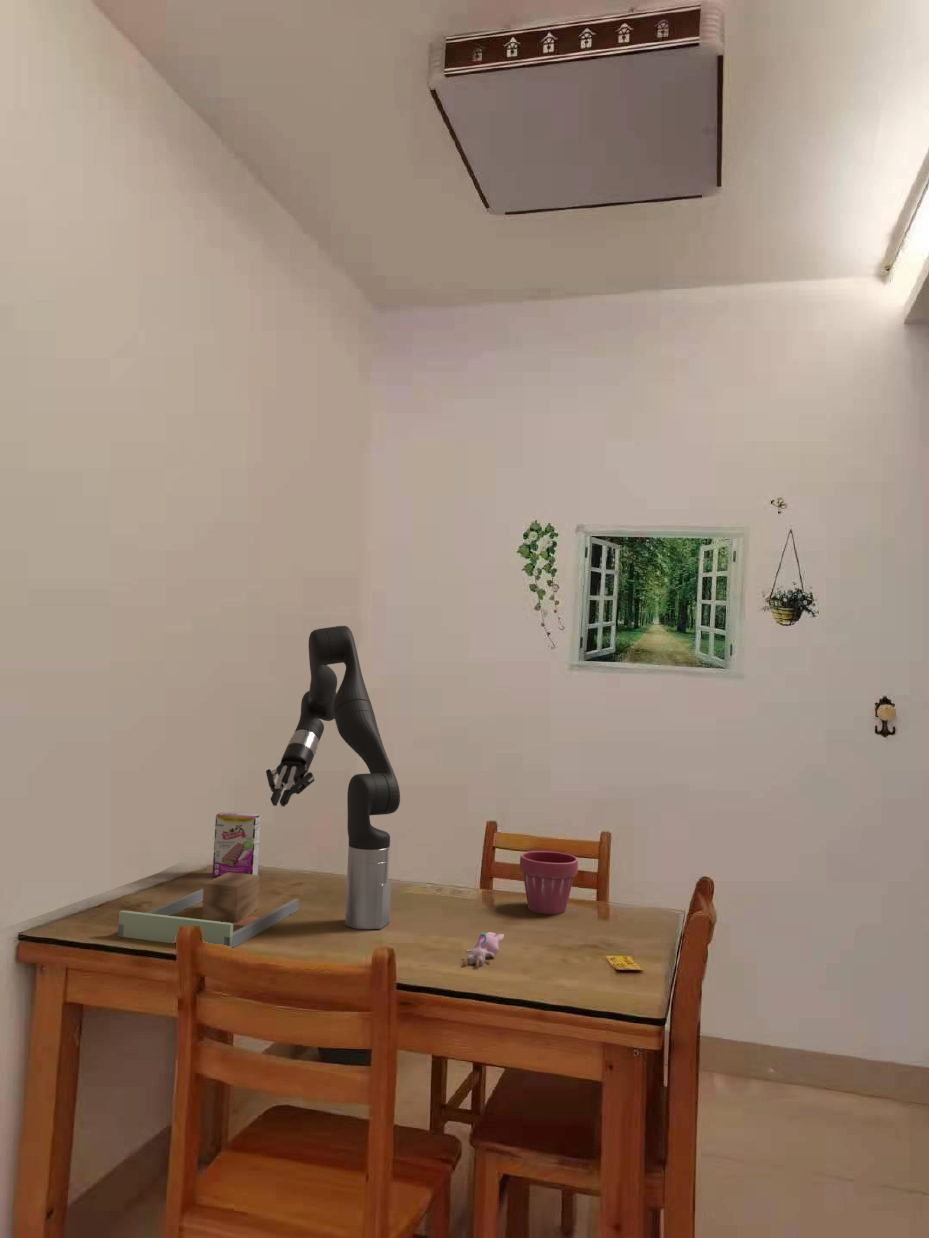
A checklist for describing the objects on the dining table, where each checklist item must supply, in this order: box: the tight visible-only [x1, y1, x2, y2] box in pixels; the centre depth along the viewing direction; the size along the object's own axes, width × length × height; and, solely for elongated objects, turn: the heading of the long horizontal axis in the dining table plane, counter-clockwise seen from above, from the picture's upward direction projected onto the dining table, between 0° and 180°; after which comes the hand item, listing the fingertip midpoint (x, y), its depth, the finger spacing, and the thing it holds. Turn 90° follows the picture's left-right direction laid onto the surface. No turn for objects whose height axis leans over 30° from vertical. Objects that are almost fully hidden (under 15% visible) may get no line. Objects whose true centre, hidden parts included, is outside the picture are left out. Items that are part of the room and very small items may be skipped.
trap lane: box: [117, 888, 300, 949], centre depth 205 cm, size 25×33×5 cm
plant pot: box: [519, 850, 579, 915], centre depth 228 cm, size 14×14×13 cm
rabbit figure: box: [463, 931, 505, 969], centre depth 188 cm, size 6×6×15 cm
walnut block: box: [201, 872, 261, 924], centre depth 213 cm, size 8×12×8 cm, turn 168°
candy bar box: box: [212, 811, 262, 878], centre depth 250 cm, size 11×5×16 cm, turn 84°
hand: (278, 803), depth 235 cm, fingers closed
